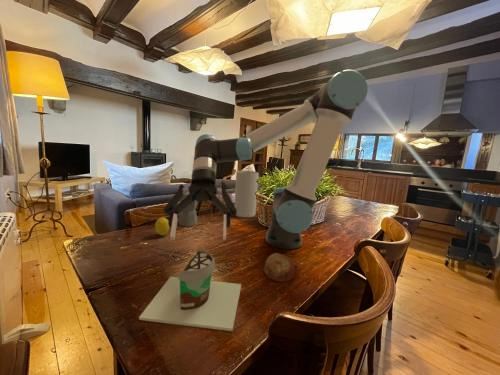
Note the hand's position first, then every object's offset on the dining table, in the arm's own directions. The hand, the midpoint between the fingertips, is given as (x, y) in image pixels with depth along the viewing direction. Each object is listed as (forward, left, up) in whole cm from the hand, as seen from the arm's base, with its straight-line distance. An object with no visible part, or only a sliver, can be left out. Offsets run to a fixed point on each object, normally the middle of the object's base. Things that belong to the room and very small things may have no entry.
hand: (198, 238), depth 61 cm
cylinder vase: (-6, -71, -13) cm, 72 cm away
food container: (-3, +7, -13) cm, 15 cm away
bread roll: (-23, -10, -13) cm, 29 cm away
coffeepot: (+18, -47, -13) cm, 52 cm away
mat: (-2, +7, -13) cm, 15 cm away
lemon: (+24, -30, -13) cm, 41 cm away
